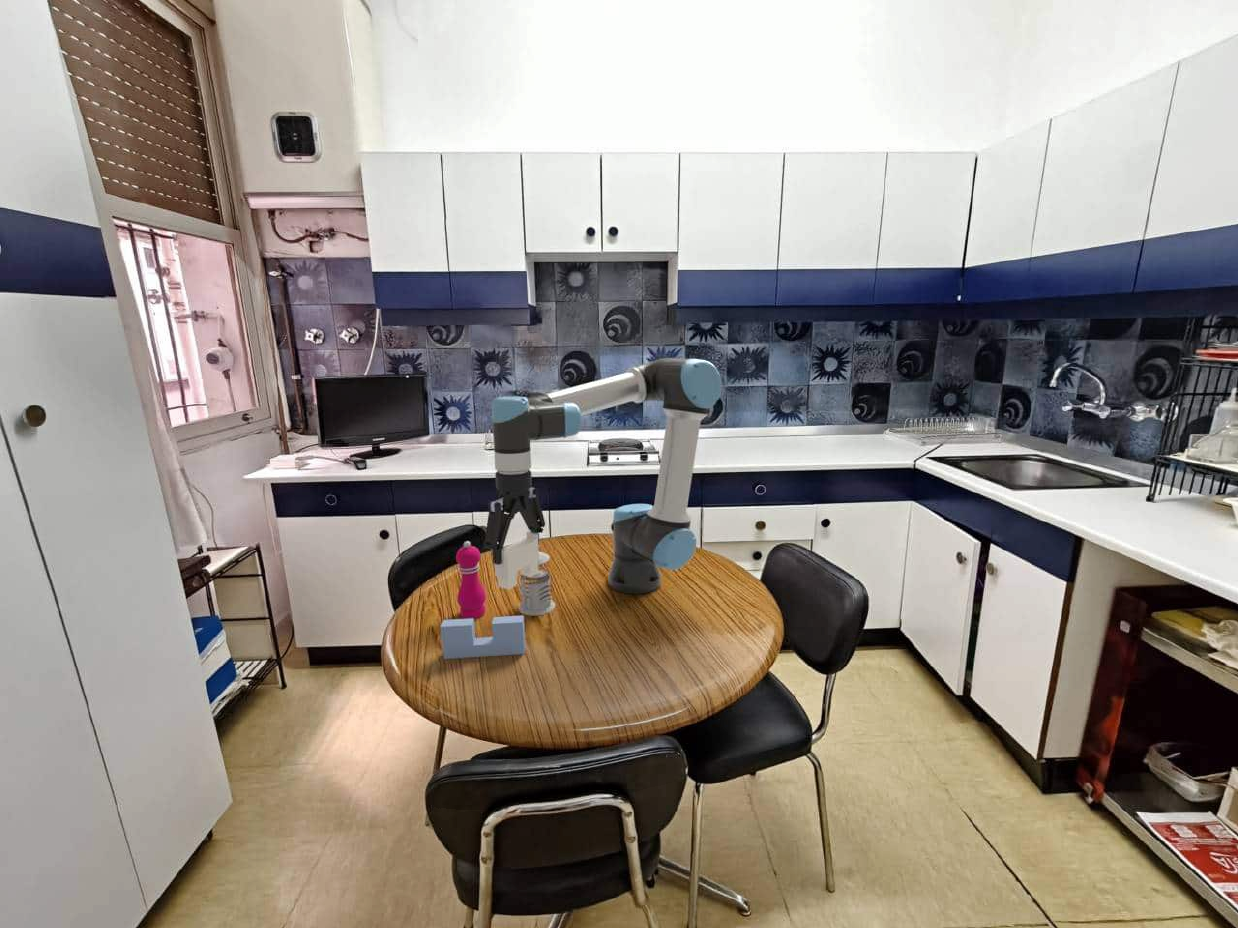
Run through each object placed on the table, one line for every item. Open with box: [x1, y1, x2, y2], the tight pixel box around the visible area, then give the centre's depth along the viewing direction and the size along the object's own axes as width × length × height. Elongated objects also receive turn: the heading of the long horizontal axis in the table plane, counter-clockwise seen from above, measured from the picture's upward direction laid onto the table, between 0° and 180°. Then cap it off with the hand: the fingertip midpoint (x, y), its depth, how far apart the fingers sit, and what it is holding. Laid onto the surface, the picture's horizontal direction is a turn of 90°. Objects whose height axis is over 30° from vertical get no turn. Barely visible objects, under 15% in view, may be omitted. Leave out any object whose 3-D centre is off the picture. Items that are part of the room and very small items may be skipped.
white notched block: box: [497, 537, 539, 591], centre depth 120 cm, size 10×3×8 cm, turn 150°
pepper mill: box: [455, 540, 487, 619], centre depth 140 cm, size 7×7×20 cm
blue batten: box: [440, 614, 527, 660], centre depth 123 cm, size 18×3×8 cm, turn 95°
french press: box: [517, 551, 556, 617], centre depth 142 cm, size 10×12×25 cm
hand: (517, 567), depth 120 cm, fingers closed on white notched block, 10 cm apart
